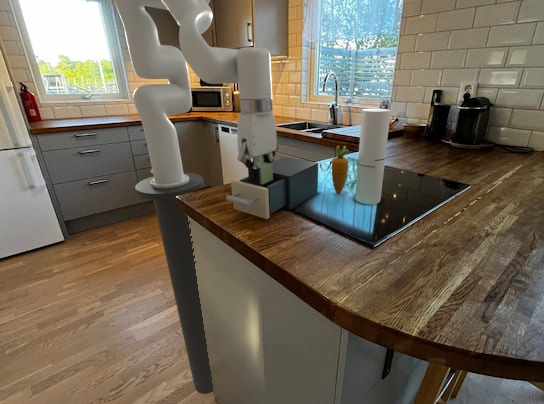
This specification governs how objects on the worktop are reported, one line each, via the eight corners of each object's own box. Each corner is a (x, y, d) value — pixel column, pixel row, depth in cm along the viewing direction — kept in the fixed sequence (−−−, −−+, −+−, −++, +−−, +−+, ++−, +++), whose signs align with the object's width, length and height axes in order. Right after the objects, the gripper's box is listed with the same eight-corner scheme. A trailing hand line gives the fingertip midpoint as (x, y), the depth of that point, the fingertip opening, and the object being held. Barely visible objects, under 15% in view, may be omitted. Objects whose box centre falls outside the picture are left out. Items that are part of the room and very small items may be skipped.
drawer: (255, 226, 70) (253, 195, 67) (221, 214, 76) (218, 185, 73) (297, 201, 83) (297, 174, 80) (266, 193, 89) (264, 168, 86)
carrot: (342, 190, 93) (344, 142, 87) (349, 196, 89) (352, 146, 83) (327, 192, 92) (329, 144, 86) (334, 198, 87) (336, 147, 81)
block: (249, 181, 77) (247, 165, 75) (260, 176, 80) (259, 161, 78) (262, 184, 74) (261, 167, 72) (273, 179, 78) (272, 163, 76)
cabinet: (290, 210, 80) (289, 176, 76) (255, 200, 87) (252, 168, 83) (317, 193, 91) (318, 162, 87) (284, 185, 98) (283, 157, 94)
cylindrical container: (385, 202, 84) (396, 110, 74) (361, 205, 82) (370, 112, 72) (373, 193, 90) (381, 108, 80) (351, 196, 89) (357, 109, 79)
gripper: (267, 103, 78) (270, 169, 85) (218, 109, 65) (226, 187, 73) (290, 104, 74) (291, 174, 81) (243, 111, 61) (249, 193, 69)
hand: (261, 179), depth 77 cm, fingers closed on block, 4 cm apart
